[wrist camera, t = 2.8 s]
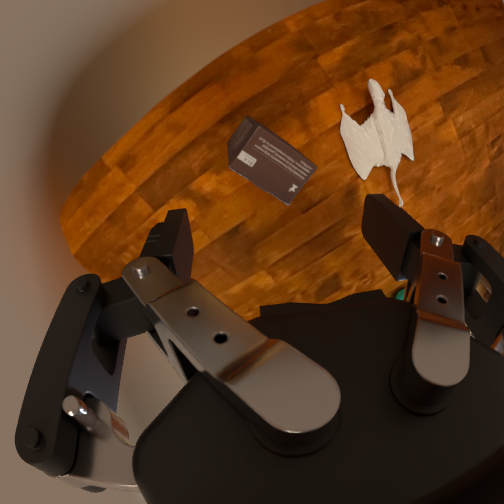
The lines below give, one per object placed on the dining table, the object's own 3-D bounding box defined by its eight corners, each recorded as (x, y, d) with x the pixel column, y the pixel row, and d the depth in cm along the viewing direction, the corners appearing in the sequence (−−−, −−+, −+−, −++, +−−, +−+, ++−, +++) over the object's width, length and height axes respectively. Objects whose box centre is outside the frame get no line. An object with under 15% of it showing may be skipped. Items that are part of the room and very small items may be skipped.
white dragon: (418, 188, 36) (433, 199, 33) (362, 212, 38) (375, 226, 34) (391, 70, 26) (409, 71, 23) (323, 89, 28) (336, 90, 25)
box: (288, 139, 31) (320, 168, 21) (266, 169, 33) (286, 210, 23) (246, 111, 29) (259, 124, 19) (224, 142, 31) (224, 172, 21)
